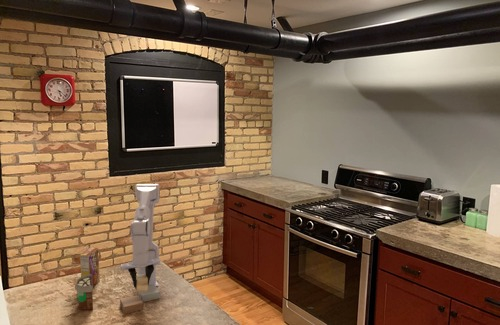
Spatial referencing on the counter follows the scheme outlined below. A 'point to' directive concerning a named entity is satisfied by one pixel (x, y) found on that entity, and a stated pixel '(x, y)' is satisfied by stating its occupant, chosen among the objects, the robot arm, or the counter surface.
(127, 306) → the walnut block
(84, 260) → the candy box
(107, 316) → the counter surface
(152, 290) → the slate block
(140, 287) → the maple cube
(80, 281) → the food container
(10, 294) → the counter surface
